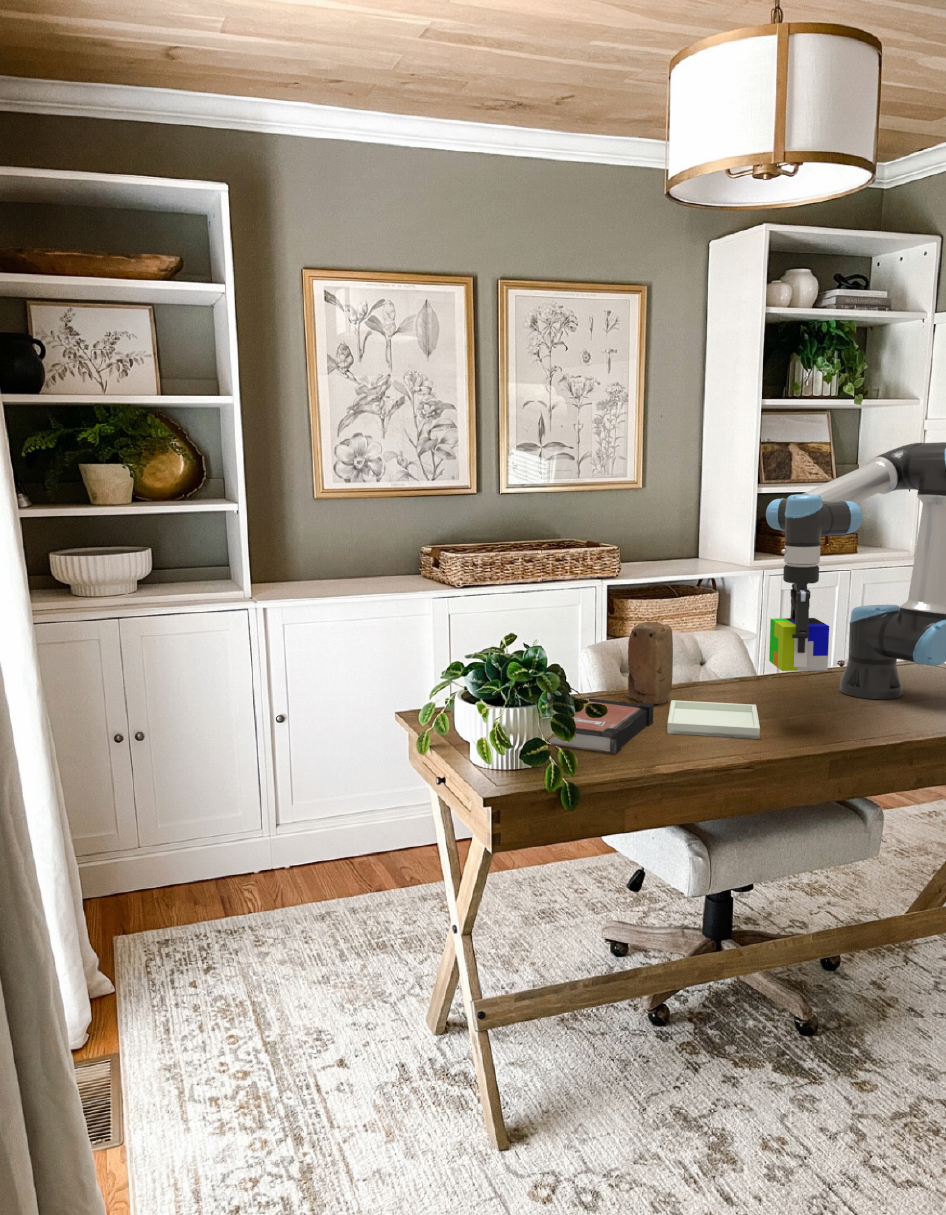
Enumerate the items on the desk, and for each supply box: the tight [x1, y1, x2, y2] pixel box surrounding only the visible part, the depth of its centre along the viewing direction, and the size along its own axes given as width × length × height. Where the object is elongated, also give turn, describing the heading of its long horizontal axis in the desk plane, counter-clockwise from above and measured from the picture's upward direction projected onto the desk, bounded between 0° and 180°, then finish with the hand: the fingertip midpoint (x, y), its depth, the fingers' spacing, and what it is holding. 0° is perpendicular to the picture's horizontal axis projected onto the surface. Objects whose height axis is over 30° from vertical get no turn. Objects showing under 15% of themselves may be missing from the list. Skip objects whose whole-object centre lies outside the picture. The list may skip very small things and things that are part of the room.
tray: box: [666, 699, 761, 740], centre depth 221 cm, size 20×20×2 cm
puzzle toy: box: [768, 617, 830, 672], centre depth 214 cm, size 10×10×10 cm
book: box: [549, 697, 655, 755], centre depth 216 cm, size 26×18×5 cm
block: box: [627, 621, 674, 705], centre depth 241 cm, size 11×8×20 cm
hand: (797, 660), depth 215 cm, fingers closed on puzzle toy, 11 cm apart
